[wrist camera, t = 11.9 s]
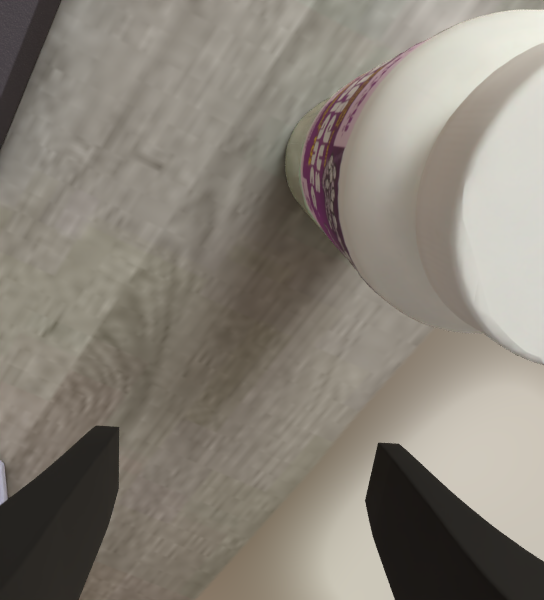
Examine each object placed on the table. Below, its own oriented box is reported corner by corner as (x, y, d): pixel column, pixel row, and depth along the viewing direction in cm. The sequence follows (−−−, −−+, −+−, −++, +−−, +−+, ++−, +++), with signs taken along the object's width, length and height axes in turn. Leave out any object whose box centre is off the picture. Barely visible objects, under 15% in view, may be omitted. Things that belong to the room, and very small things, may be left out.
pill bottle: (313, 55, 13) (477, -147, 4) (487, 87, 14) (986, -26, 4) (284, 240, 15) (350, 399, 6) (439, 261, 15) (730, 437, 6)
